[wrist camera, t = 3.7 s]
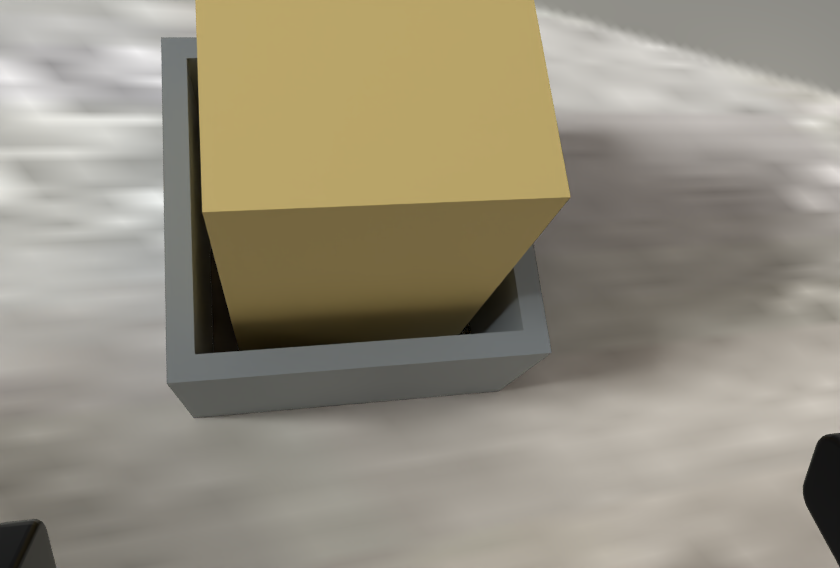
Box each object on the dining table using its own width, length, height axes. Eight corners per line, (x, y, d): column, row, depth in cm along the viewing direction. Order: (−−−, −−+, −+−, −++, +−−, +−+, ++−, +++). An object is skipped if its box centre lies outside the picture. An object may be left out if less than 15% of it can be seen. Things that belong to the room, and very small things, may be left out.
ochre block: (446, 349, 23) (570, 197, 13) (243, 364, 22) (201, 212, 12) (424, 169, 25) (517, -90, 15) (234, 175, 24) (192, -100, 14)
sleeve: (498, 391, 23) (551, 352, 18) (193, 417, 22) (166, 383, 17) (460, 129, 26) (498, 37, 21) (186, 135, 24) (161, 37, 19)
